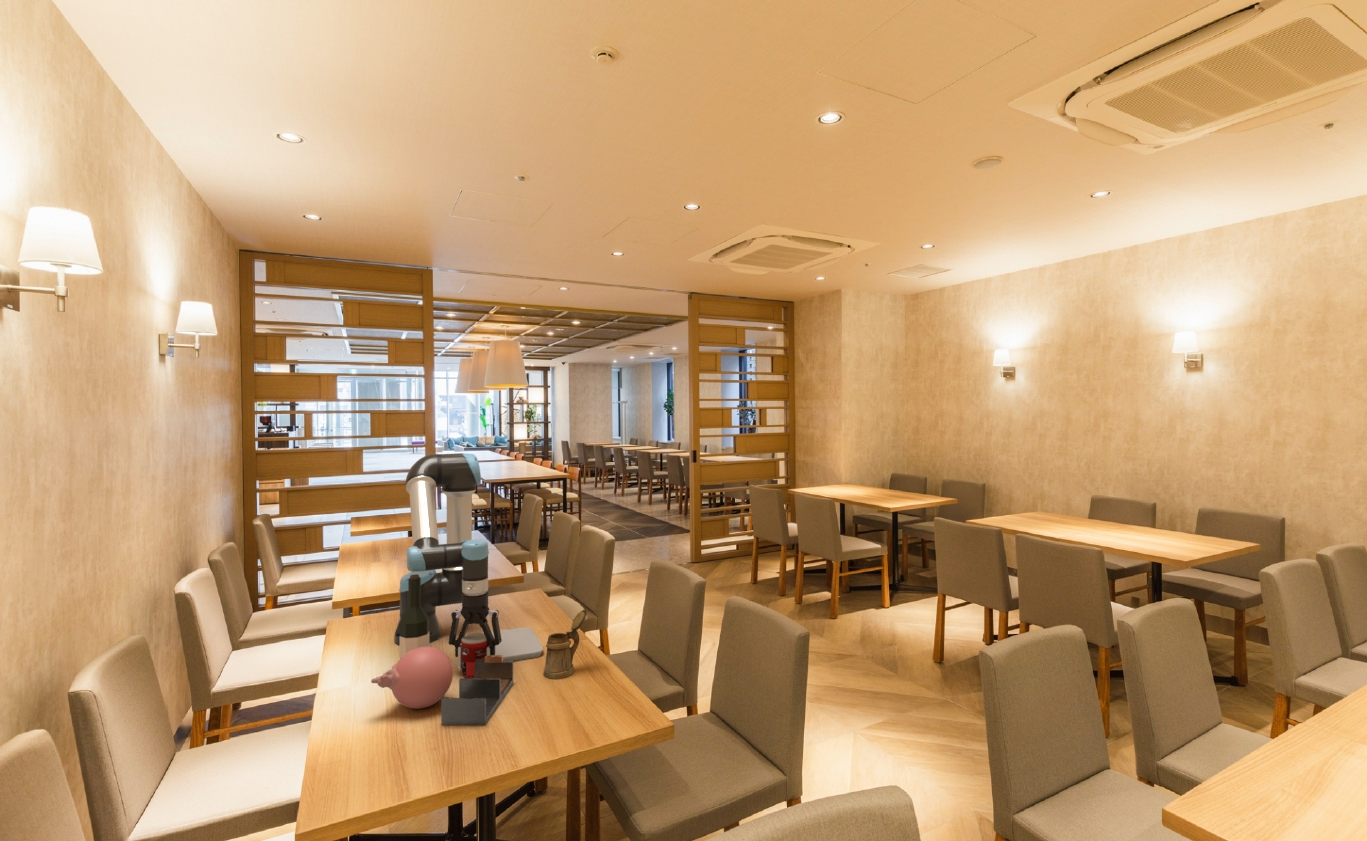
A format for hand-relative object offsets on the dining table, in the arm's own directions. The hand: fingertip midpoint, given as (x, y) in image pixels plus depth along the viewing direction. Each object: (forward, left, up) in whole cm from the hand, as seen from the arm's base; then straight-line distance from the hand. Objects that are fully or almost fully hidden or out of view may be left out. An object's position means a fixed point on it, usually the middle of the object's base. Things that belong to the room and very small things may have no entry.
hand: (475, 667), depth 185 cm
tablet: (-22, +5, -3) cm, 23 cm away
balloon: (+22, -9, -2) cm, 24 cm away
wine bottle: (+1, -18, -2) cm, 18 cm away
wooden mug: (-2, +27, -2) cm, 27 cm away
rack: (+19, +8, -2) cm, 21 cm away
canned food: (0, 0, -2) cm, 2 cm away
